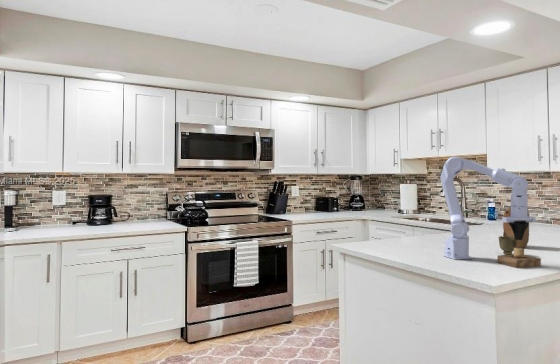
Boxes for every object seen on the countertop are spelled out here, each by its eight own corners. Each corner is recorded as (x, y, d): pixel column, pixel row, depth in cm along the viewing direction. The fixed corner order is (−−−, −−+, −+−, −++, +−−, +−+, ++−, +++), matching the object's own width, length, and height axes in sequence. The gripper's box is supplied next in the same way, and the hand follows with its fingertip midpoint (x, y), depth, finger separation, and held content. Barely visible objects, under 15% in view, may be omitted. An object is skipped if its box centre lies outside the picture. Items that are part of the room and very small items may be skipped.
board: (516, 267, 146) (516, 260, 146) (497, 262, 155) (497, 255, 155) (540, 266, 150) (540, 258, 149) (520, 261, 158) (521, 254, 158)
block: (530, 247, 188) (531, 207, 188) (520, 249, 185) (521, 208, 185) (509, 244, 198) (510, 206, 198) (500, 245, 195) (500, 206, 194)
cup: (499, 252, 177) (500, 235, 177) (518, 254, 172) (518, 236, 172) (496, 254, 171) (497, 237, 171) (515, 256, 167) (516, 238, 166)
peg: (519, 265, 150) (519, 249, 150) (511, 263, 154) (511, 247, 154) (526, 265, 151) (526, 248, 151) (518, 263, 155) (518, 247, 155)
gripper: (512, 207, 147) (512, 242, 147) (542, 206, 151) (541, 240, 151) (498, 206, 154) (497, 239, 154) (526, 205, 157) (526, 237, 158)
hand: (518, 239), depth 153 cm, fingers closed
